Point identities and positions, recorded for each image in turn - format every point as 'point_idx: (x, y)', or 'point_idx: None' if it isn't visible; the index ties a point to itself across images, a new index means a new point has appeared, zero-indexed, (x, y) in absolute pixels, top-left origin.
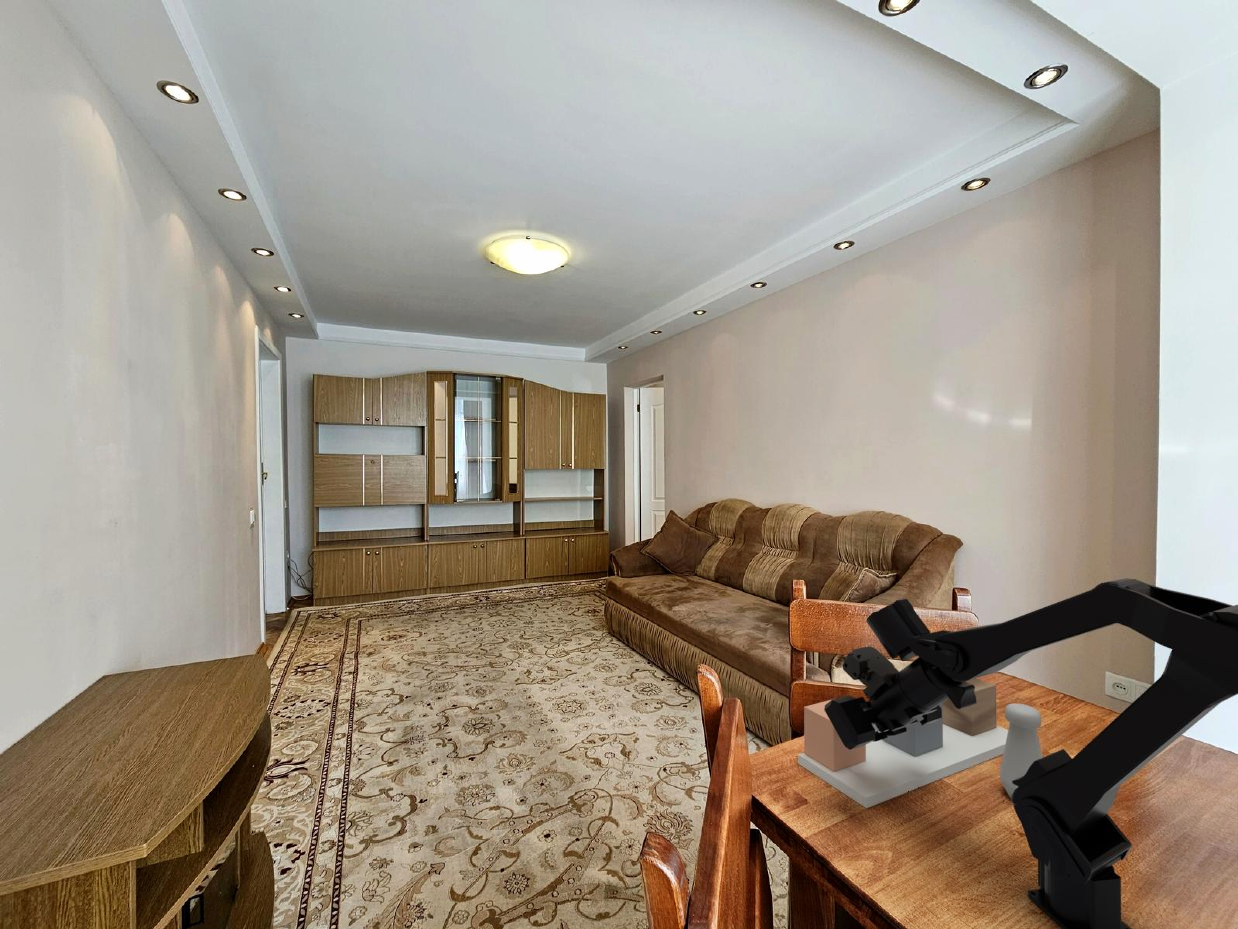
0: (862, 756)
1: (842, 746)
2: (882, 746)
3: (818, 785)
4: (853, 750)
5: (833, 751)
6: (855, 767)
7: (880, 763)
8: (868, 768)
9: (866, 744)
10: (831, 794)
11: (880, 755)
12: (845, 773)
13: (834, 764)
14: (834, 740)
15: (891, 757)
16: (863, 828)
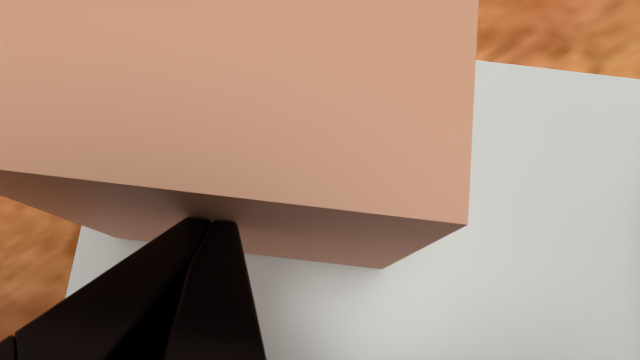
0: (358, 262)
1: (147, 227)
2: (619, 224)
3: (49, 218)
4: (272, 246)
5: (61, 217)
6: (267, 276)
7: (434, 334)
8: (321, 327)
9: (553, 158)
10: (26, 305)
11: (517, 279)
12: None
13: (108, 232)
14: (31, 204)
15: (556, 330)
16: None
